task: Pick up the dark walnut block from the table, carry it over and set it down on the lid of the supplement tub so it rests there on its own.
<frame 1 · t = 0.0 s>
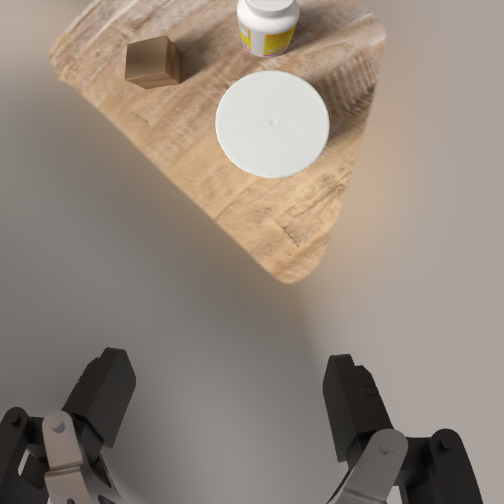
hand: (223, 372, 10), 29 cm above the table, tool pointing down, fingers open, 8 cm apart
supplement bottle: (265, 39, 28), on the table
supplement tub: (266, 131, 33), on the table
walnut block: (163, 70, 29), on the table
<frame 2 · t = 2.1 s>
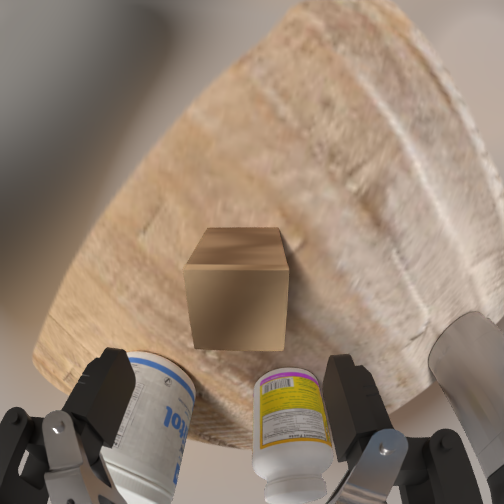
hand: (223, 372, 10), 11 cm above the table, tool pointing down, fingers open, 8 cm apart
supplement bottle: (286, 384, 25), on the table
supplement tub: (154, 377, 26), on the table
walnut block: (243, 260, 20), on the table
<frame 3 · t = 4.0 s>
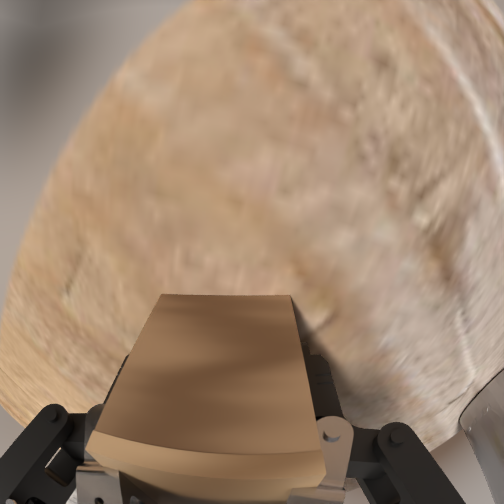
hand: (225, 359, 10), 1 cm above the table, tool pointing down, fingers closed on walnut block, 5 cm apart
walnut block: (227, 344, 11), on the table, touching gripper
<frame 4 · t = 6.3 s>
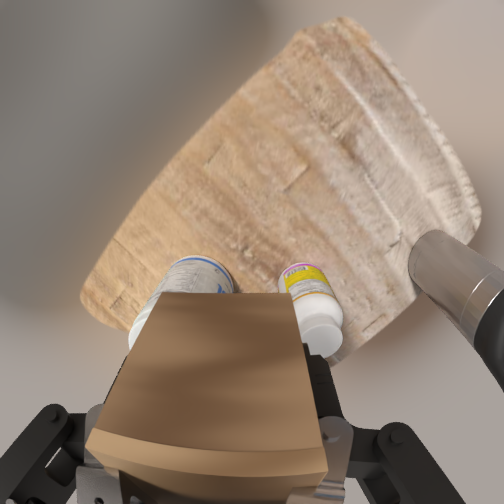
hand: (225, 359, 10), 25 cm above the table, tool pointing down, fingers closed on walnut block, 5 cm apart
supplement bottle: (301, 281, 37), on the table
supplement tub: (199, 283, 37), on the table
walnut block: (228, 342, 11), point 24 cm above the table, touching gripper
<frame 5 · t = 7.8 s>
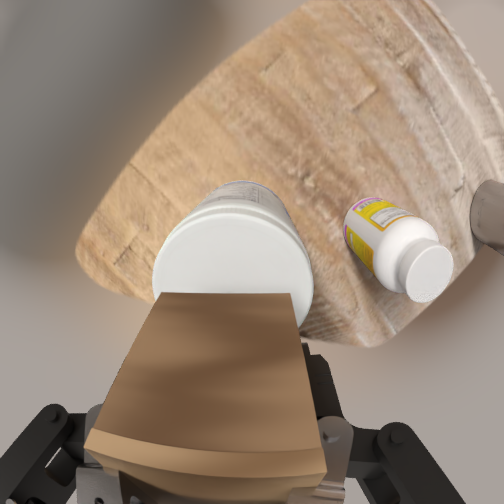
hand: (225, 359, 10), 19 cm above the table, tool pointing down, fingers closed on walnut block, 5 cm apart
supplement bottle: (368, 224, 28), on the table
supplement tub: (242, 223, 29), on the table
walnut block: (227, 342, 11), point 19 cm above the table, touching gripper
when the fingers open (17 cm above the table, at t = 9.0 s): walnut block drops 2 cm, resting on supplement tub.
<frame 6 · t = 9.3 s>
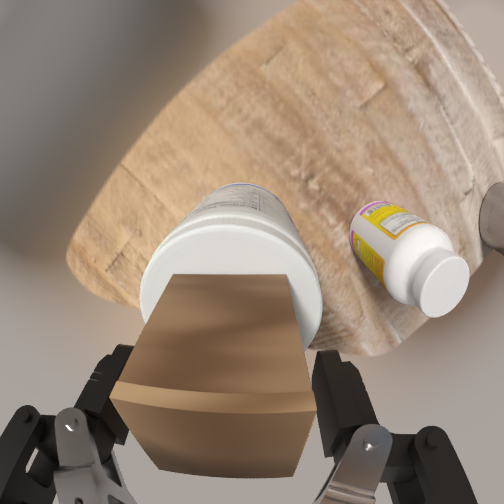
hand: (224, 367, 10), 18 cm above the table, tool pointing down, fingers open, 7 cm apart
supplement bottle: (375, 229, 26), on the table
supplement tub: (241, 228, 27), on the table, touching walnut block
walnut block: (230, 320, 13), point 15 cm above the table, touching supplement tub
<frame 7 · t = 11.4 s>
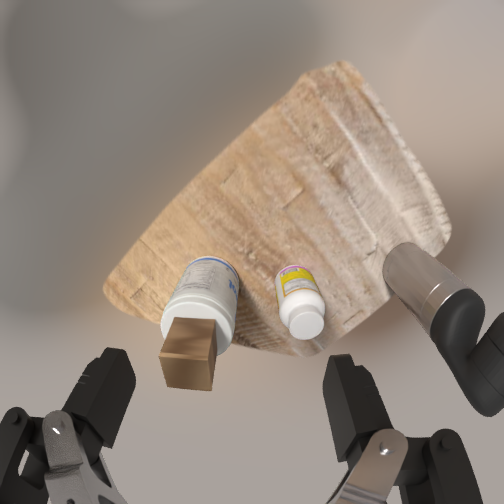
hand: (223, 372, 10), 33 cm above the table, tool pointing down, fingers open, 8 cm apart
supplement bottle: (293, 280, 46), on the table
supplement tub: (211, 278, 46), on the table, touching walnut block
walnut block: (196, 334, 32), point 15 cm above the table, touching supplement tub
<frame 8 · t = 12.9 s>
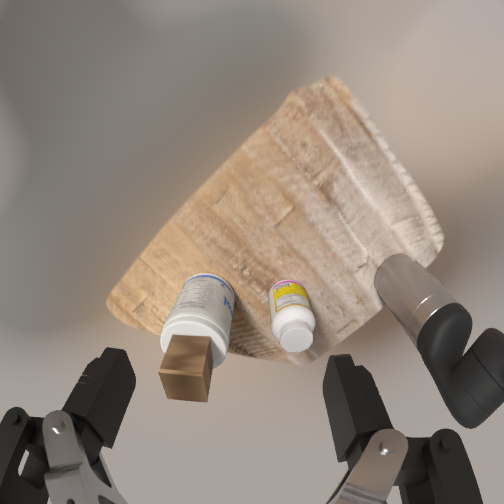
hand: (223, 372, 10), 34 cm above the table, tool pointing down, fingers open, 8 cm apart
supplement bottle: (286, 293, 48), on the table
supplement tub: (208, 293, 48), on the table, touching walnut block
walnut block: (193, 349, 34), point 15 cm above the table, touching supplement tub
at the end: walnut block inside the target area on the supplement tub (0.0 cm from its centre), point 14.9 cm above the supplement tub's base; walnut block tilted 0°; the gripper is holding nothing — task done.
